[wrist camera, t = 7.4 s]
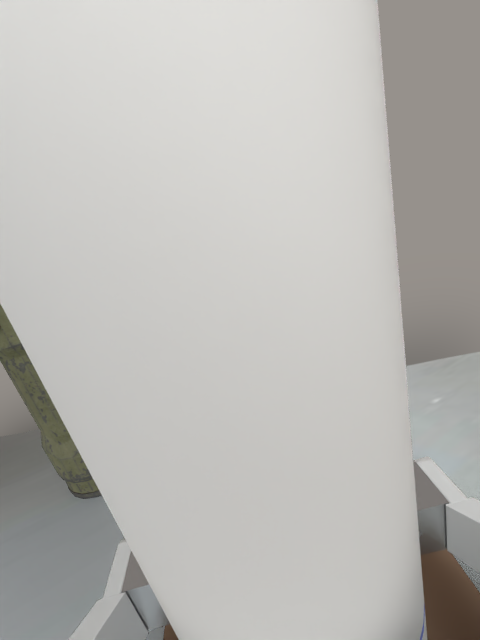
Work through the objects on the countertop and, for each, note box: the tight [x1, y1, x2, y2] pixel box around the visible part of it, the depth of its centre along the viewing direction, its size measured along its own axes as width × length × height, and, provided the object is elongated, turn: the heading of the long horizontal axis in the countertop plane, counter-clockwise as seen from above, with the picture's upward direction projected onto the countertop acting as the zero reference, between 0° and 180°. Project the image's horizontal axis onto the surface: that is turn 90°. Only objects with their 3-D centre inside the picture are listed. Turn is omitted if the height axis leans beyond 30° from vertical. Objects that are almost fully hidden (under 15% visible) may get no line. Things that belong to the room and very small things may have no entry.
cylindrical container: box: [0, 0, 427, 640], centre depth 10 cm, size 7×7×25 cm
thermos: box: [0, 304, 101, 499], centre depth 31 cm, size 9×12×35 cm
